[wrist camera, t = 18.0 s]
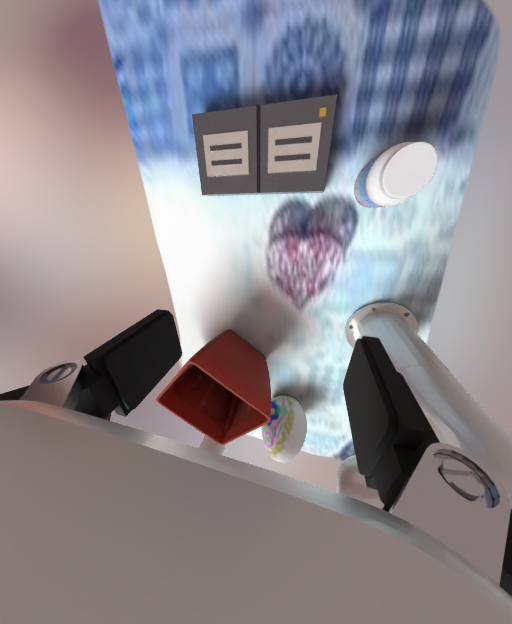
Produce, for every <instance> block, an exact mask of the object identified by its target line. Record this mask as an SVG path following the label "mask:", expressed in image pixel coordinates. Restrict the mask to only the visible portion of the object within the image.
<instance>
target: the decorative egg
mask: <svg viewBox="0 0 512 624" xmlns="http://www.w3.org/2000/svg"><path fill="white" fill-rule="evenodd" d="M306 432H307V420H306V415H305V412H304V410H303V408H302V406H301V405H300V403H299V402H298V401H297V400H296V399H294V398H292V397H290V396H286V395H281V396H277V397H275V398H273V399H272V400H271V420H270V422H269V423H267V424H265V425H263V426H262V437H263V441H264V444H265V447H266V449H267V451H268V452H269V454H270V456H271V457H272V458H273V459H275V460H276V461H278V462H282V463H283V462H288V461H290V460H291V459H293V458H294V457H295V456H296V455H297V454H298V452H299V451H300V450H301V448H302V446H303V443H304V441H305V437H306Z"/></svg>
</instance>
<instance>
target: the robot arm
mask: <svg viewBox="0 0 512 624" xmlns="http://www.w3.org/2000/svg"><path fill="white" fill-rule="evenodd" d="M350 325H351V326H350ZM417 332H418V323H417V319H416V318H415V316H414V315H413V314H412V313H411V312H410V311H409V310H408V309H407V308H405V307H403V306H401V305H399V304H395V303H389V302H381V303H374V304H370V305H367V306H365V307H363V308H361V309H359V310H358V311H356V312H355V313H354V314H353V315H352V316H351V317H350V318H349V320H348V322H347V324H346V328H345V334H346V338H347V341H348V343H349V344H350V346H351V347H352V348H353V349H354V350H353V353H352V356H351V360H350V363H349V366H348V369H347V373H346V376H345V379H344V384H343V389H344V395H345V400H346V406H347V411H348V416H349V422H350V427H351V433H352V438H353V444H354V449H355V455H354V456H351V457H349V458H347V459H346V460H344V461H343V463H342V464H341V465H340V467H339V469H338V473H337V492H335V491H331V490H329V489H326V488H323V487H319V486H317V485H313V484H310V483H308V482H305V481H302V480H298V479H296V478H292V477H289V476H286V475H283V474H280V473H276V472H274V471H270V470H267V469H264V468H261V467H258V466H254V465H251V464H248V463H245V462H242V461H238V460H235V459H232V458H229V457H226V456H222V455H219V454H216V453H213V452H210V451H206V450H203V449H200V448H197V447H193V446H190V445H187V444H184V443H180V442H177V441H174V440H171V439H167V438H164V437H161V436H158V435H154V434H151V433H148V432H144V431H141V430H138V429H135V428H131V427H128V426H124V425H121V424H118V423H115V422H111V421H110V417H111V412H112V411H113V410H115V412H116V413H117V414H119V415H122V416H127V415H128V413H130V412H131V410H133V409H135V408H136V407H137V406H138V405H139V404H140V403H141V401H143V399H144V398H145V397H146V396H147V395H148V394H149V392H151V390H152V389H153V388H154V387H155V386H156V385H157V383H159V381H160V380H161V379H162V378H163V377H164V376H165V375H166V374H167V372H168V371H169V370H170V369H171V368H172V367H173V366H174V365H175V363H176V362H177V361H178V360H179V359H180V358H181V355H182V350H181V346H180V342H179V338H178V334H177V330H176V326H175V322H174V318H173V315H172V314H171V313H170V312H169V311H167V310H156V311H154V312H153V313H151V314H150V315H148V316H147V317H145V318H143V319H142V320H140V321H139V322H137V323H136V324H134V325H132V326H131V327H129V328H128V329H126V330H125V331H123V332H122V333H120V334H118V335H117V336H115V337H114V338H112V339H111V340H109V341H107V342H106V343H104V344H103V345H102V346H100V347H98V348H97V349H95V350H93V351H92V352H90V353H89V354H87V355H86V356H84V359H85V360H86V362H87V365H85V366H83V364H82V363H81V361H78V360H70V361H65V362H62V363H58V364H56V365H54V366H52V367H50V368H48V369H46V370H44V371H43V372H42V373H40V374H39V375H38V376H37V377H36V378H35V379H34V381H33V382H32V383H31V385H29V386H26V387H23V388H19V389H16V390H13V391H9V392H6V393H3V394H0V624H512V436H511V435H510V434H508V432H506V431H505V430H504V429H503V428H502V427H501V426H500V425H499V424H498V423H497V422H496V421H495V420H494V419H493V418H492V417H491V416H490V415H489V414H488V413H487V412H486V411H485V410H484V409H483V408H482V407H481V406H480V404H479V403H478V402H477V401H476V400H475V399H474V398H473V397H472V396H471V395H470V394H469V393H468V392H467V391H466V389H465V388H464V387H463V386H462V385H461V384H460V383H459V381H458V380H457V379H456V378H455V377H454V376H453V374H452V373H451V372H450V371H449V370H448V369H447V368H446V366H445V365H444V364H443V363H442V362H441V361H440V360H439V359H438V357H437V356H436V355H435V354H434V353H433V351H432V350H431V349H430V348H429V347H428V346H427V345H426V343H425V342H424V341H423V340H422V339H421V338H420V336H419V335H418V334H417Z"/></svg>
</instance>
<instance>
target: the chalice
mask: <svg viewBox="0 0 512 624" xmlns="http://www.w3.org/2000/svg"><path fill="white" fill-rule="evenodd" d="M225 445H226V444H224V445H221V444H218V443H217V442H215V441H214V440H212V439H211V438H209V437H208V436H206V435H205V437H204V439H203V441H202V443H201V445H200V449H203V450H206V451H210V452H213V453H216V454H219V455H222V453H223V450H224V448H225Z"/></svg>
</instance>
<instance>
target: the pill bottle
mask: <svg viewBox="0 0 512 624" xmlns="http://www.w3.org/2000/svg"><path fill="white" fill-rule="evenodd" d="M437 164H438V155H437V152H436V150H435V148H434V147H433V146H432V145H431V144H429V143H426V142H404V143H400V144H397V145H394V146H392V147H391V148H389V149H387V150H386V151H384V152H383V153H382V154H381V155H379V156H378V157H377V158H375V159H374V160H373V161H371V162H370V163H369V164H368V165H366V166H365V167H364V168H363V169H362V170H361V172H360V173H359V175H358V177H357V179H356V181H355V186H354V193H355V197H356V200H357V201H358V203H359V204H360V205H362V206H364V207H368V208H375V207H390V206H395V205H398V204H401V203H403V202H405V201H407V200H408V199H409V198H411V197H412V196H413V195H414V194H416V193H418V192H419V191H420V190H422V189H423V188H424V187H425V186H426V185H427V184H428V183H429V182H430V180H431V179H432V177H433V175H434V174H435V171H436V168H437Z"/></svg>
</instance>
